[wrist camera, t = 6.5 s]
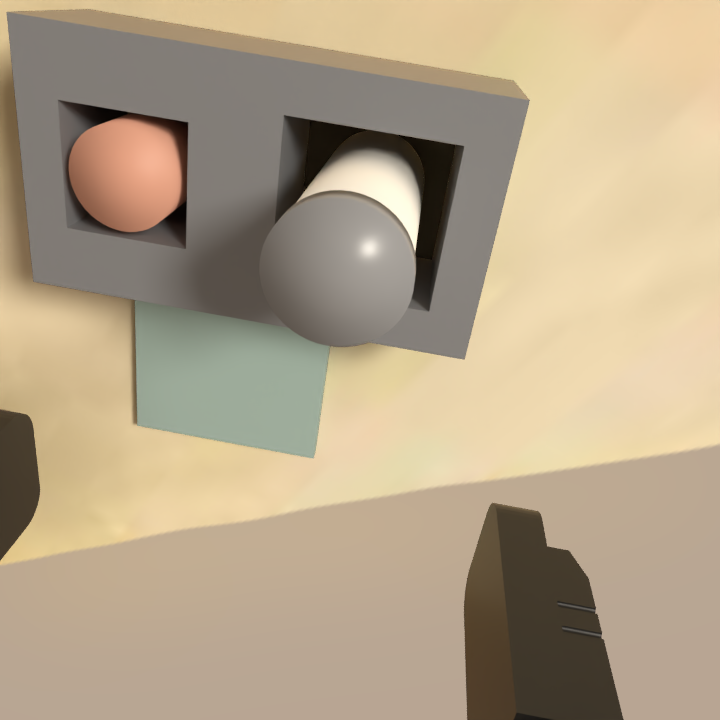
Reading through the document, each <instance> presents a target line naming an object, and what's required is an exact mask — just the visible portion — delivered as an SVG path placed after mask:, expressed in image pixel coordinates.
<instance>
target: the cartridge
mask: <svg viewBox="0 0 720 720" xmlns="http://www.w3.org/2000/svg"><path fill="white" fill-rule="evenodd" d="M423 190H424V170H423V166H422V163H421V160H420V158H419V156H418V154H417V153H416V151H415V150H414V149H413V147H412V146H411V145H410V144H409V143H408V142H407V141H406V140H404V139H403V138H402V137H400V136H398V135H396V134H392V133H386V132H380V131H374V130H366V131H362V132H359V133H356V134H354V135H352V136H350V137H349V138H347V139H346V140H345V141H344V142H342V143H341V144H340V146H339V147H338V148H337V149H336V150H335V152H334V153H333V154H332V156H331V157H330V158H329V160H328V161H327V162H326V164H325V165H324V166H323V168H322V169H321V170H320V172H319V173H318V174H317V176H316V177H315V178H314V180H313V181H312V182H311V184H310V185H309V186H308V188H307V189H306V190H305V191H304V193H303V194H302V195H301V197H300V198H299V199H298V201H297V202H296V203H295V204H294V205H292V206H291V207H290V208H289V209H288V210H287V211H286V212H285V213H284V214H283V215H282V216H281V218H280V219H279V220H278V222H277V223H276V224H275V225H274V227H273V228H272V230H271V231H270V233H269V234H268V236H267V238H266V240H265V242H264V245H263V248H262V252H261V256H260V263H259V274H260V281H261V286H262V289H263V293H264V295H265V297H266V300H267V302H268V304H269V305H270V307H271V309H272V310H273V312H274V313H275V314H276V316H277V317H278V318H279V319H280V320H281V321H282V322H283V323H284V324H285V325H286V326H287V327H288V328H289V329H291V330H292V331H293V332H295V333H297V334H298V335H300V336H301V337H303V338H305V339H307V340H310V341H313V342H315V343H318V344H322V345H326V346H334V347H349V346H357V345H361V344H365V343H368V342H370V341H373V340H375V339H377V338H379V337H381V336H382V335H384V334H385V333H387V332H388V331H389V330H391V329H392V328H393V327H394V326H395V325H396V324H397V323H398V322H399V320H400V319H401V318H402V317H403V315H404V313H405V312H406V310H407V308H408V306H409V304H410V301H411V298H412V294H413V291H414V283H415V275H416V256H415V250H416V243H417V235H418V228H419V220H420V213H421V205H422V198H423Z"/></svg>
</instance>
